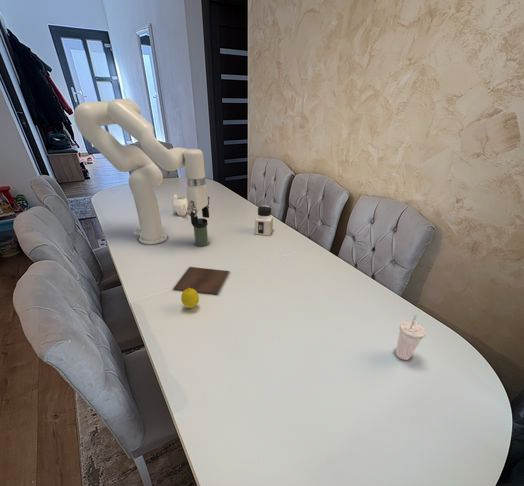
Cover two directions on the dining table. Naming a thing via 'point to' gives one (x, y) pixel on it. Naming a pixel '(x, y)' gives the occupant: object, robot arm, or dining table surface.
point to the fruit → (190, 298)
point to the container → (264, 221)
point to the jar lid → (201, 223)
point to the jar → (201, 236)
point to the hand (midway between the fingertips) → (200, 220)
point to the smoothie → (409, 338)
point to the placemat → (202, 280)
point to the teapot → (179, 205)
